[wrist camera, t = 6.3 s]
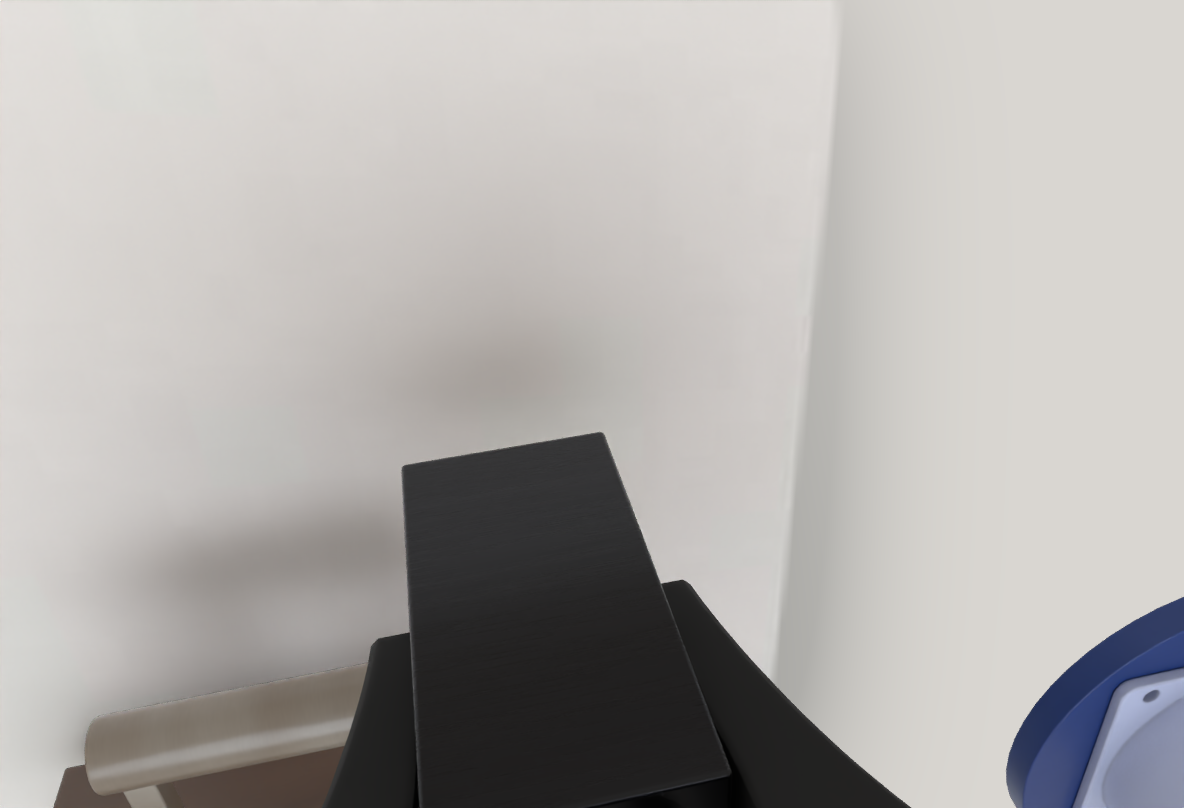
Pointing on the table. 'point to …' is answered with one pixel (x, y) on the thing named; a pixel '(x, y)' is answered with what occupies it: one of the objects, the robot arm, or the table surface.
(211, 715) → the drawer
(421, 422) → the table surface
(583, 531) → the push button
